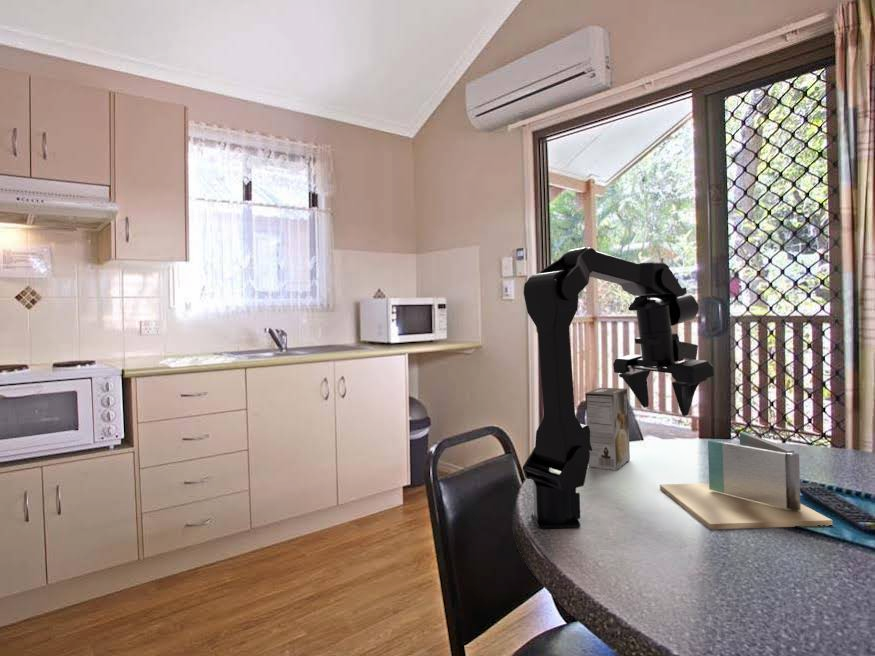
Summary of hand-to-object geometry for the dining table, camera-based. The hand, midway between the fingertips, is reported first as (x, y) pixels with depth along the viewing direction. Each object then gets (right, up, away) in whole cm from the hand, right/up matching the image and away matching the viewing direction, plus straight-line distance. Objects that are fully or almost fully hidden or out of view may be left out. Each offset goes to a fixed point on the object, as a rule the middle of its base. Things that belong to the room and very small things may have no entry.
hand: (664, 411), depth 97 cm
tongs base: (+7, -14, -12) cm, 19 cm away
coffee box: (-6, -14, +14) cm, 21 cm away
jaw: (+9, -12, -12) cm, 20 cm away
